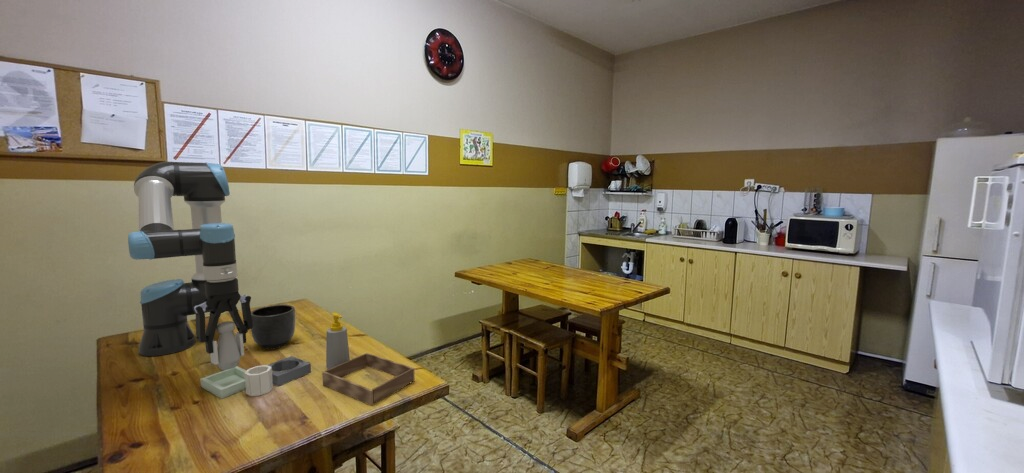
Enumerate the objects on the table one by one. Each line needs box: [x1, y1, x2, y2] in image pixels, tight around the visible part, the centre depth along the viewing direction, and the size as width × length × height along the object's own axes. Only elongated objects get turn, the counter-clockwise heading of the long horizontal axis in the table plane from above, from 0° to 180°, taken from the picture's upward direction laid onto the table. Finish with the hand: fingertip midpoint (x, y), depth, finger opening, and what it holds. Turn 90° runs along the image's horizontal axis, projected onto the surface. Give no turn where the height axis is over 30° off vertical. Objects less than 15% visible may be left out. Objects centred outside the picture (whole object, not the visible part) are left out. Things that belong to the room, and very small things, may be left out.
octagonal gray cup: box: [245, 364, 274, 397], centre depth 112 cm, size 6×6×6 cm
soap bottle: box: [325, 312, 351, 370], centre depth 125 cm, size 7×7×18 cm
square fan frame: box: [267, 355, 312, 387], centre depth 121 cm, size 10×10×3 cm
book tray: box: [321, 352, 416, 407], centre depth 117 cm, size 21×16×4 cm
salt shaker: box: [216, 320, 241, 371], centre depth 113 cm, size 6×6×13 cm
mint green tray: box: [199, 365, 248, 400], centre depth 115 cm, size 12×10×2 cm
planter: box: [250, 304, 296, 350], centre depth 143 cm, size 14×14×13 cm
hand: (227, 358), depth 114 cm, fingers closed on salt shaker, 6 cm apart
